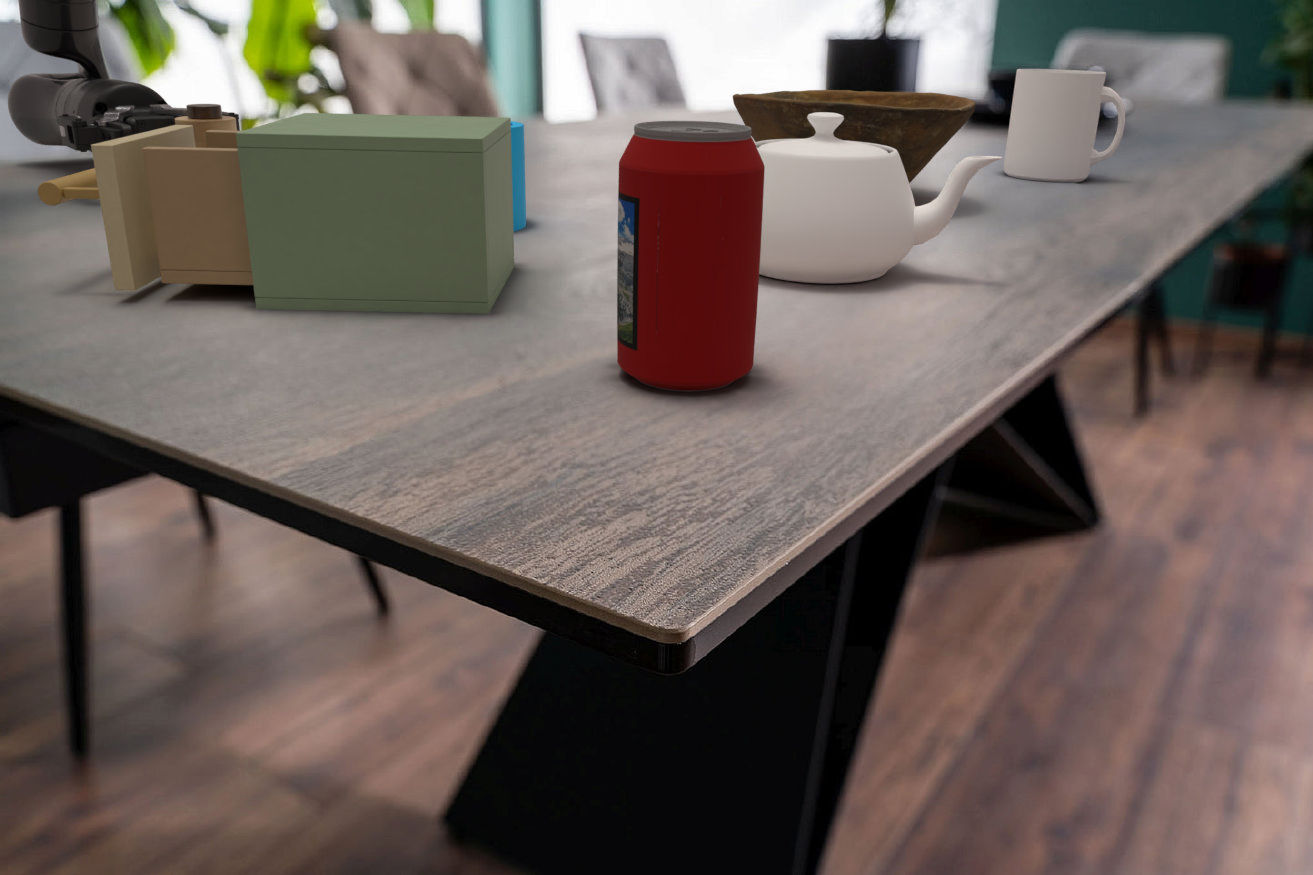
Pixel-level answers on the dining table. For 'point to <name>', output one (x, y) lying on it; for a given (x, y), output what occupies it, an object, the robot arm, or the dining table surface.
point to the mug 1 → (518, 175)
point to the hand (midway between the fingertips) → (181, 136)
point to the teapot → (845, 206)
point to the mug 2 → (1058, 124)
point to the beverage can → (688, 254)
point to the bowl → (862, 119)
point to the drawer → (166, 207)
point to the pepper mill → (206, 121)
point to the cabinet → (378, 212)
